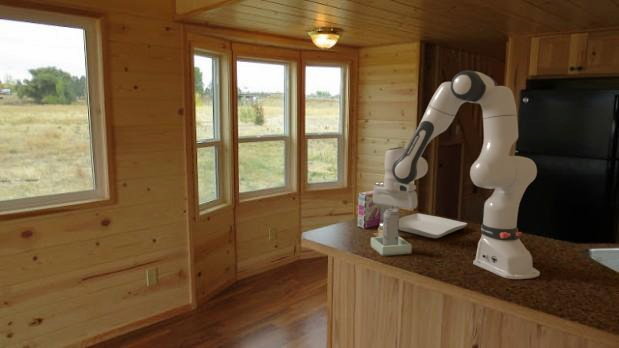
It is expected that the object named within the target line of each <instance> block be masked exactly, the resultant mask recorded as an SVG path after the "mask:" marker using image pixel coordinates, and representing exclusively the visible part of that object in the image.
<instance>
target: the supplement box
mask: <svg viewBox="0 0 619 348" xmlns="http://www.w3.org/2000/svg"><path fill="white" fill-rule="evenodd" d="M385 209H389V206H388V205H382V204H381V211H380V221H383V219H384V213H385Z"/></svg>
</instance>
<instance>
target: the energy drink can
mask: <svg viewBox="0 0 619 348" xmlns="http://www.w3.org/2000/svg"><path fill="white" fill-rule="evenodd" d="M399 218H400V214H399V210H395V209H394V208H393V209H386V210H385V213H384V219H383V220H382V222H383V245H384V246H391V245H398V236H399V231H400V230H399Z"/></svg>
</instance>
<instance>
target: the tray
mask: <svg viewBox="0 0 619 348" xmlns="http://www.w3.org/2000/svg"><path fill="white" fill-rule="evenodd" d="M370 246H371V248H372V249H374V250H375V251H376V252H377V253H379V255H380V256H382V257H386V256H387V257H388V256H396V255H407V254H412V244H411V243H410V242H408V241H407V240H406V239H404V238H402V237H401V236H400V235H398V245H391V246H384V245H383V237H376V236H374V237H370Z"/></svg>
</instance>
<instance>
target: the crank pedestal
mask: <svg viewBox="0 0 619 348" xmlns="http://www.w3.org/2000/svg"><path fill="white" fill-rule="evenodd" d="M373 234H374V235H373ZM372 235H373V236H374V237H383V229H380V228H379V227H378V228H377V232H373V233H372Z"/></svg>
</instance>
